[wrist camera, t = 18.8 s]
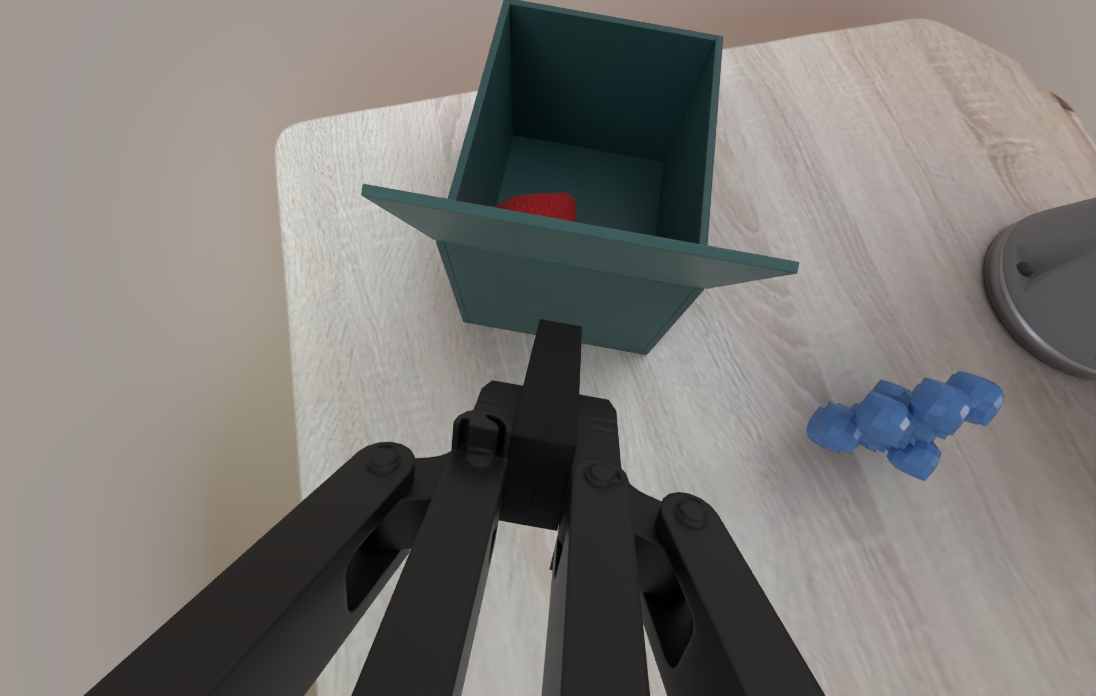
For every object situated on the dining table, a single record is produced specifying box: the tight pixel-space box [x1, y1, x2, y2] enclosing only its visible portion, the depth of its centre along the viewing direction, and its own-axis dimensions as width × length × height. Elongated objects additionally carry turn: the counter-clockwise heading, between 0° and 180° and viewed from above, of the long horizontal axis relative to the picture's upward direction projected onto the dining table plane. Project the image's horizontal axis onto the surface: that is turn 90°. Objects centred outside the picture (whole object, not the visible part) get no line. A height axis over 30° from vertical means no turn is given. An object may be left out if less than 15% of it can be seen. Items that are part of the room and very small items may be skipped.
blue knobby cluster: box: [806, 371, 1004, 481], centre depth 30 cm, size 12×7×12 cm, turn 102°
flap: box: [361, 184, 799, 289], centre depth 20 cm, size 9×15×1 cm
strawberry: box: [495, 193, 576, 222], centre depth 36 cm, size 6×8×10 cm
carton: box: [436, 0, 723, 355], centre depth 34 cm, size 19×15×12 cm
